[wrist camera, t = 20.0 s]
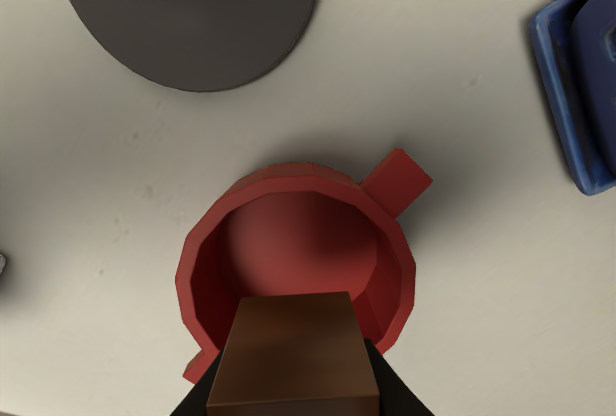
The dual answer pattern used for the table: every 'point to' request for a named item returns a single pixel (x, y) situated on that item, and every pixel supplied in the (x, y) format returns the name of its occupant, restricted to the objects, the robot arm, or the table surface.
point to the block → (295, 360)
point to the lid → (196, 38)
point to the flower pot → (581, 84)
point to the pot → (302, 249)
